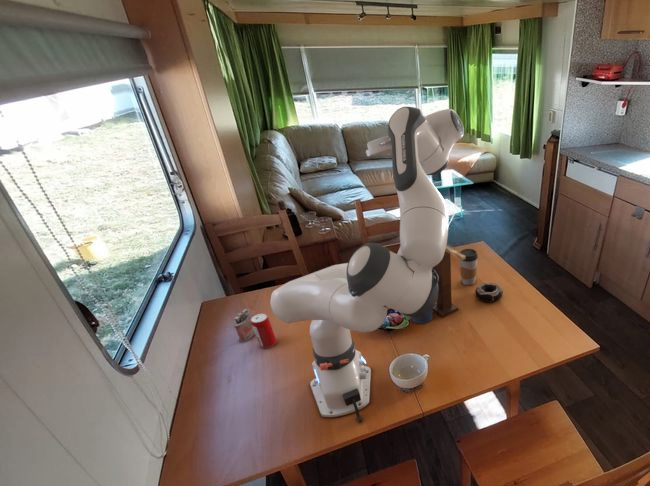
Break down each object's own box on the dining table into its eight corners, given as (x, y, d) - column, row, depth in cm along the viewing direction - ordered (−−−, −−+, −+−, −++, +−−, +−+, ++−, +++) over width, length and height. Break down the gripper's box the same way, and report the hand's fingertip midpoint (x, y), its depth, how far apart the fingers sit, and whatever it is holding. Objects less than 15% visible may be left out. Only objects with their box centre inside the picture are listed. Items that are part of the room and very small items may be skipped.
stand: (458, 309, 155) (457, 248, 140) (442, 317, 151) (439, 254, 136) (445, 301, 160) (443, 241, 145) (430, 308, 156) (426, 247, 141)
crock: (435, 320, 149) (433, 276, 138) (413, 325, 146) (409, 281, 136) (429, 308, 156) (426, 265, 145) (407, 312, 153) (403, 269, 143)
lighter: (245, 342, 138) (236, 320, 133) (237, 341, 139) (228, 319, 133) (260, 329, 145) (252, 307, 139) (252, 327, 145) (244, 306, 140)
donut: (472, 301, 160) (472, 293, 158) (478, 287, 170) (478, 279, 168) (500, 305, 158) (500, 297, 156) (504, 290, 167) (504, 282, 165)
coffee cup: (480, 280, 175) (481, 251, 167) (471, 288, 169) (471, 258, 161) (465, 275, 178) (465, 246, 170) (455, 283, 172) (455, 253, 164)
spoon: (469, 257, 134) (469, 254, 133) (458, 262, 131) (458, 258, 130) (433, 238, 147) (433, 235, 147) (423, 242, 144) (423, 239, 144)
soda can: (280, 340, 139) (271, 313, 133) (269, 350, 135) (259, 323, 128) (267, 337, 140) (257, 311, 134) (256, 347, 136) (246, 320, 129)
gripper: (393, 152, 102) (357, 165, 109) (434, 149, 119) (401, 161, 126) (386, 127, 101) (350, 143, 108) (429, 128, 117) (396, 141, 125)
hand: (378, 152), depth 117 cm, fingers open, 8 cm apart
